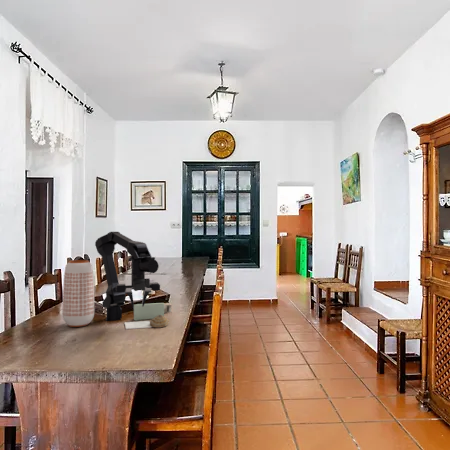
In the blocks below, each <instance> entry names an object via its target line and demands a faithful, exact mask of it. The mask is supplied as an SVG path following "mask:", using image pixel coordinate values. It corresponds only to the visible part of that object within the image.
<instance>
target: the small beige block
mask: <svg viewBox="0 0 450 450" xmlns="http://www.w3.org/2000/svg"><path fill="white" fill-rule="evenodd" d="M167 313H172V304H171V303H169V302H166V303H164V314H167Z"/></svg>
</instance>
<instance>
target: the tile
mask: <svg viewBox="0 0 450 450" xmlns="http://www.w3.org/2000/svg"><path fill="white" fill-rule="evenodd" d="M150 322H151V320H139V321H127V322H126V321H125V322H124V327H125V330H134V329H135V330H136V329H150V328H151V329H152V328H153V327H152V326H151V325H150Z"/></svg>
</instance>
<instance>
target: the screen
mask: <svg viewBox="0 0 450 450" xmlns="http://www.w3.org/2000/svg"><path fill="white" fill-rule="evenodd" d="M164 304H165V303H164V302H156V303H154V302H153V303H144V306H142V303H137V304H134V307H133V321H134V322H138V321H144V320H152V319H154V318H155V317H156V316H158V315H162V316H164V317H165V313H164Z"/></svg>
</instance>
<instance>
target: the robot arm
mask: <svg viewBox="0 0 450 450" xmlns="http://www.w3.org/2000/svg"><path fill="white" fill-rule="evenodd" d="M117 244H118V245H119V246H120V247H122V248H125V249H126V253H127V254H129V255H130V257H129V258H128V261H129V262H131V279H130V280H131V284H130V285H126V283H120V281H119V278H118V273H117V269H116V263H115V259H114V252H115V249H116V245H117ZM94 246H95V248H96V251H97V253H98V255H100V256H101V259H102V263H103V269H104V272H105V277H106V283H107V288H106V291H105V298H104V299H103V300H102V307H103V308H106V318H105V321H106V322H112V321H121V320H122V318H123V316H122V315H123V308H121V306H124V305H125V302H126V299H127V298H126V297H127V296H126V295H128V298H129V300H130V303H131V306H132V308H134V305H135V304H134V298H133V297H134V296H133V291H134V292H138V291H142V292H143V293H142V300H141V301H142V302H141V304H142V306H144V304H146V300H147V297H148V296H149V294H150V293H152V292H154V291H161V284H160V283H158V282H150V281H151V280H150V278H145V277H146V274H145V273H148V274H154V273H157V272H158V270H159V267H160V266H159V263H158V261H157V260H156V257H155V256H152V254H151V252H150V250H149V248H148V245H147V244H146V242H143V241H138V240H137V241H136V240H133V239H131V238H129V237H127V236H126V235H124V234H122V233H121V232H119V231H109V232H108V233H107V234H104V235H102V236H100V237H98V238H97V239H96V241H95V243H94ZM132 290H133V291H132Z"/></svg>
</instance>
